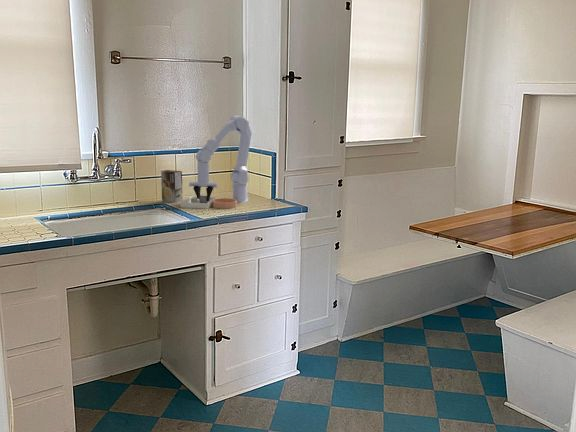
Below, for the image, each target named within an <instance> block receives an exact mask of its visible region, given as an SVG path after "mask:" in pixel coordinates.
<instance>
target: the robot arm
mask: <svg viewBox="0 0 576 432" xmlns="http://www.w3.org/2000/svg"><path fill="white" fill-rule="evenodd" d="M249 123H250V122H249V120H248V119H247V118H246V117H245V116H243V115H242V116H241V115H232V116H231V117H230V118H229V119H228V120H227V121H226V123H225V124H224V125H223V126H222V128H221V129H220V131H218V133H217V134H216V136H215V137H214V138H210V139H208V140H207V141H206V144H204V146H203V147H201V149H200V150H198V151H197V153H196V155H195V159H196V161H197V181H195V182H193V181H192V182H188V187H193V188H192V189H193V190H194V193H195V196H197V198H199V196H200V195H201V189H202V187H203V188H205V190H206V195H207V202H208V201H209V200H210V197H211V195H212V192H213V191H214V188H218V187H219V183H217V182H216V183H215V182H210V161H211V159H212V155H213V154H215V152H216V151H217V150H218V149H219V147H220V143H221V142H222V141H223V140H224V139H225V137H227V135H229V133H230V132H234V131H237V132H238V133H239V135H240V138H239V143H238V144H239V145H238V146H239V147H238V151H237V157H236V164H235V166H234V168H233V170H232V172H231V175H230V179H231V181H232V199H236V200H237V203H245V204H246V203H247V202H248V201H249V200H250V199H249V198H248V186H247V183H248V182H249V175H248V169H247V168H248V167H247V164H248V159H249V152H250V146H251V139H252V130H251V127H250V124H249Z"/></svg>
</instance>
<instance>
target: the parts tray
mask: <svg viewBox="0 0 576 432" xmlns="http://www.w3.org/2000/svg"><path fill="white" fill-rule="evenodd" d="M192 198H197V196H196V195H192V196H190V197H187V198H185V199H184V200H183V201H180V202H179V208H190V209H206V210H208V209H209V208H211V207H213V206H212V200H214V199H219V197H216V196H210V200H209V201H208V203H191V199H192Z"/></svg>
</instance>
